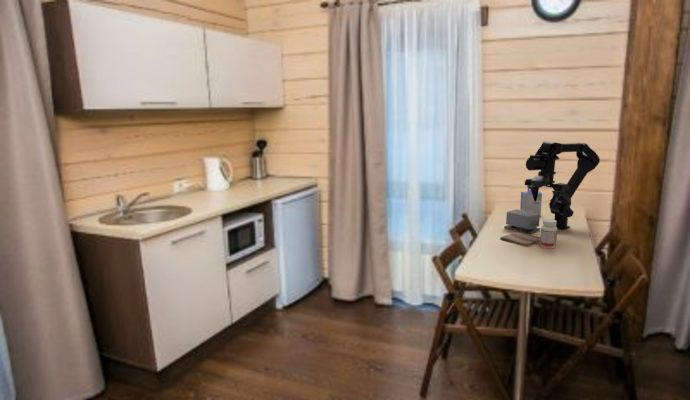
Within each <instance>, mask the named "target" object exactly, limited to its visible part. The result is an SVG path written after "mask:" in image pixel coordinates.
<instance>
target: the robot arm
mask: <svg viewBox="0 0 690 400" xmlns="http://www.w3.org/2000/svg"><path fill="white" fill-rule="evenodd" d="M541 143H542V144H541V145H540V147H539V148H538V150H537V151H536V152H535V154H530V155H529V157H528V158H527V160H526V162H525V168H526V169H527V170H528V171H538V173H537V175H536V176H534V177H532V178H528V179H527V178H526V179H525V181H524V185H525V186H526V187H527V189H528V188H529V190H531V192H532V195H533V199H534V201H536V200H537V196H538V192H540V191H539V190H540V188H542V187H545V188H551V189H553V190H552V197H551V199H549V203H548V206H549V210H550V214H553V215H554V219H553V220H556V221H557V223H556V227H557V230H563V231H564V230H567V229H570V228H571V226H570V225H568V221H569V218H571V217H573V216H574V210H573V209H572V208H571V206H572V197H573V196H574V194H575V193H576V191H578V189H579V187H580V185H581V184H582V182H583V180H584V179H585V178H586V176H587V174H588V173H590V172H592V171H593V170H595V168H597V167H598V165H599V164H600V162H601V159H600V156H599V155H598V154H597V152H596V151H595V150H593V149H592V148H591V147H590V146H589V145H588V143H585V142H571V143H568V142H567V143H560V142H554V141H548V140H547V141H546V140H545V141H543V142H541ZM573 152H574V153H575V152H576V153H575V155H576V158H577V161H576V163H577V164H576V167H577V168H576V169H575V171H574V172H573V174H572V175H571V177H569V178H570V179H569V180H568V182H566V183H562V182H558V183H556V181H555V180H554V178H555V175H556V173H557V172H556V171H555V168H556V161H557V160H560V159H561V158H560V157H559V156H558V155H560V154H562V153H573Z"/></svg>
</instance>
